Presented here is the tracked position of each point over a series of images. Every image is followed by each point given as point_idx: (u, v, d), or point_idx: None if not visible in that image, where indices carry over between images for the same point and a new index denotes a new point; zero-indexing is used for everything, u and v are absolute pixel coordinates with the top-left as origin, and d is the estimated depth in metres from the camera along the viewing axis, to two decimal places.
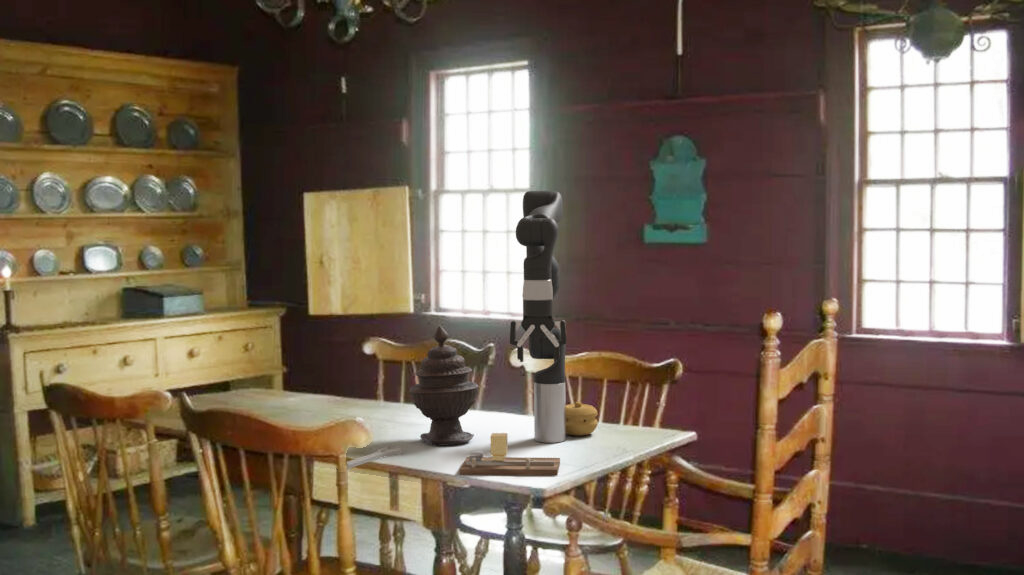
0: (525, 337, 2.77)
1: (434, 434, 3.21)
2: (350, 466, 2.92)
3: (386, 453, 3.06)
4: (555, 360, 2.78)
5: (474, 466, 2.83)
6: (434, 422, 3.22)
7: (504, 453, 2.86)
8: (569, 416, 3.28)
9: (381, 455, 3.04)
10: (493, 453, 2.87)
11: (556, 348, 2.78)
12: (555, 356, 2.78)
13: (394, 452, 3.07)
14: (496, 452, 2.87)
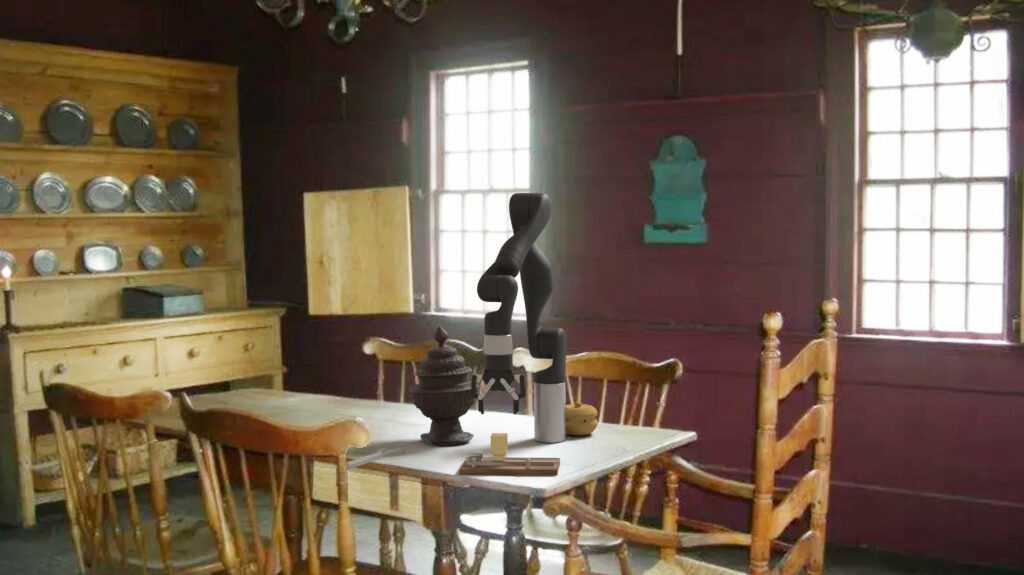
0: (486, 390, 2.86)
1: (434, 434, 3.21)
2: (351, 466, 2.92)
3: (386, 453, 3.05)
4: (515, 413, 2.86)
5: (474, 466, 2.83)
6: (434, 422, 3.22)
7: (504, 453, 2.86)
8: (569, 416, 3.28)
9: (381, 455, 3.04)
10: (493, 453, 2.87)
11: (516, 401, 2.86)
12: (515, 409, 2.86)
13: (394, 452, 3.07)
14: (496, 452, 2.87)
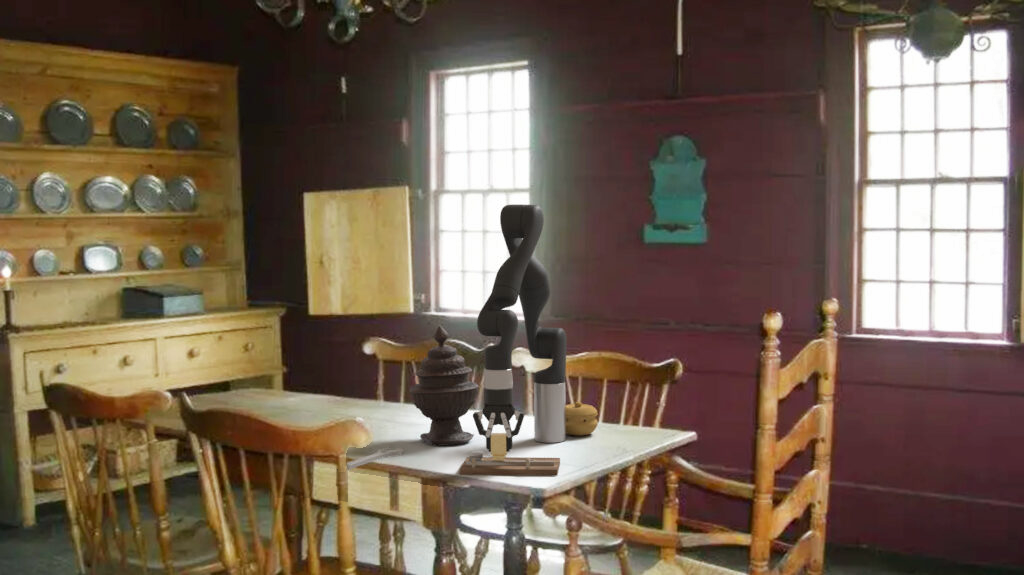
0: (490, 426, 2.87)
1: (434, 434, 3.21)
2: (351, 467, 2.91)
3: (386, 454, 3.05)
4: (508, 450, 2.87)
5: (474, 466, 2.83)
6: (434, 422, 3.22)
7: (504, 453, 2.86)
8: (569, 416, 3.28)
9: (381, 456, 3.04)
10: (493, 453, 2.87)
11: (509, 438, 2.87)
12: (508, 446, 2.87)
13: (394, 453, 3.06)
14: (496, 452, 2.87)
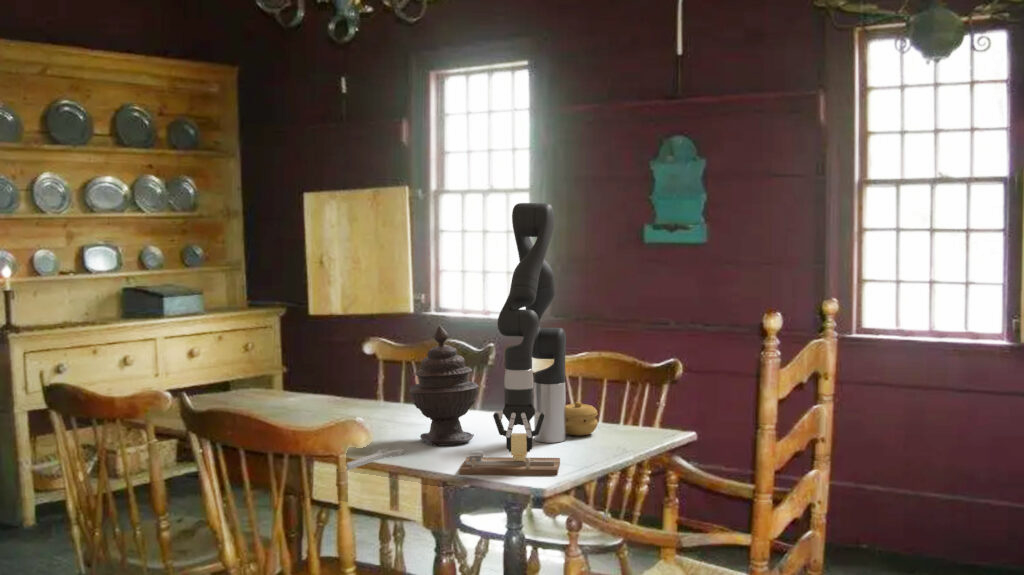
0: (511, 426, 2.86)
1: (434, 434, 3.21)
2: (350, 467, 2.91)
3: (386, 454, 3.05)
4: (528, 450, 2.87)
5: (474, 466, 2.83)
6: (434, 422, 3.22)
7: (525, 453, 2.86)
8: (569, 416, 3.28)
9: (381, 456, 3.03)
10: (513, 453, 2.86)
11: (529, 439, 2.87)
12: (528, 446, 2.87)
13: (394, 453, 3.06)
14: (516, 453, 2.86)
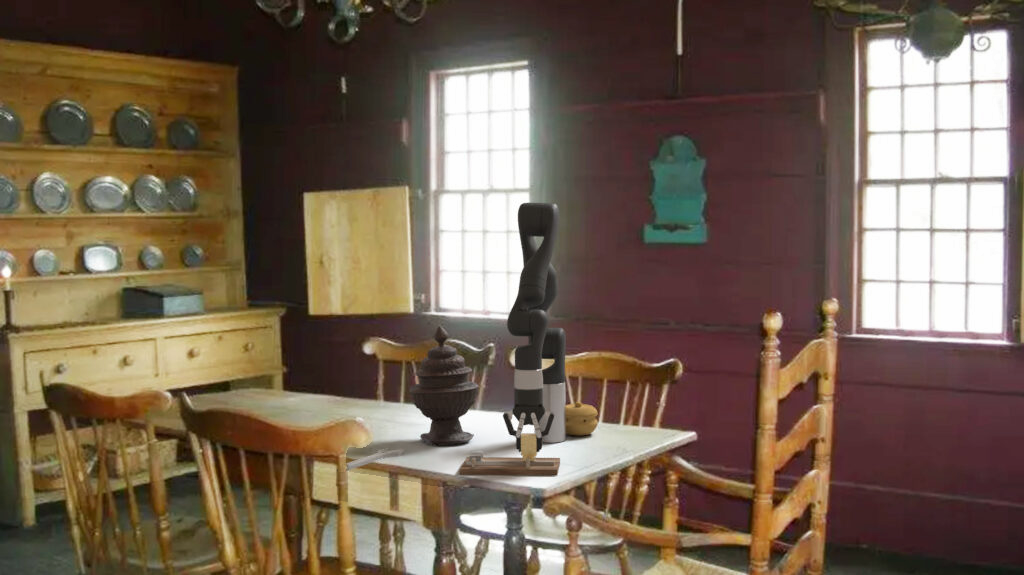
0: (520, 426, 2.86)
1: (434, 434, 3.21)
2: (351, 467, 2.91)
3: (386, 454, 3.04)
4: (538, 450, 2.87)
5: (474, 466, 2.83)
6: (434, 422, 3.22)
7: (534, 453, 2.86)
8: (569, 416, 3.28)
9: (381, 456, 3.03)
10: (523, 453, 2.86)
11: (539, 439, 2.87)
12: (538, 446, 2.86)
13: (394, 453, 3.06)
14: (526, 453, 2.86)
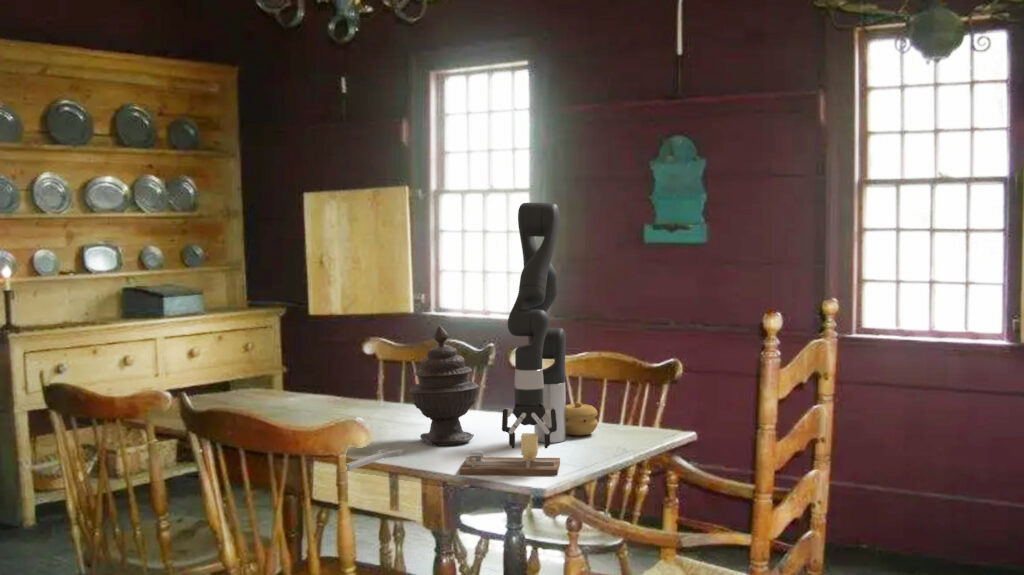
0: (517, 424, 2.86)
1: (434, 434, 3.21)
2: (351, 467, 2.90)
3: (386, 454, 3.04)
4: (546, 447, 2.86)
5: (474, 466, 2.83)
6: (434, 422, 3.22)
7: (535, 453, 2.86)
8: (569, 416, 3.28)
9: (381, 456, 3.03)
10: (524, 453, 2.86)
11: (547, 435, 2.86)
12: (546, 443, 2.86)
13: (394, 453, 3.06)
14: (527, 453, 2.86)
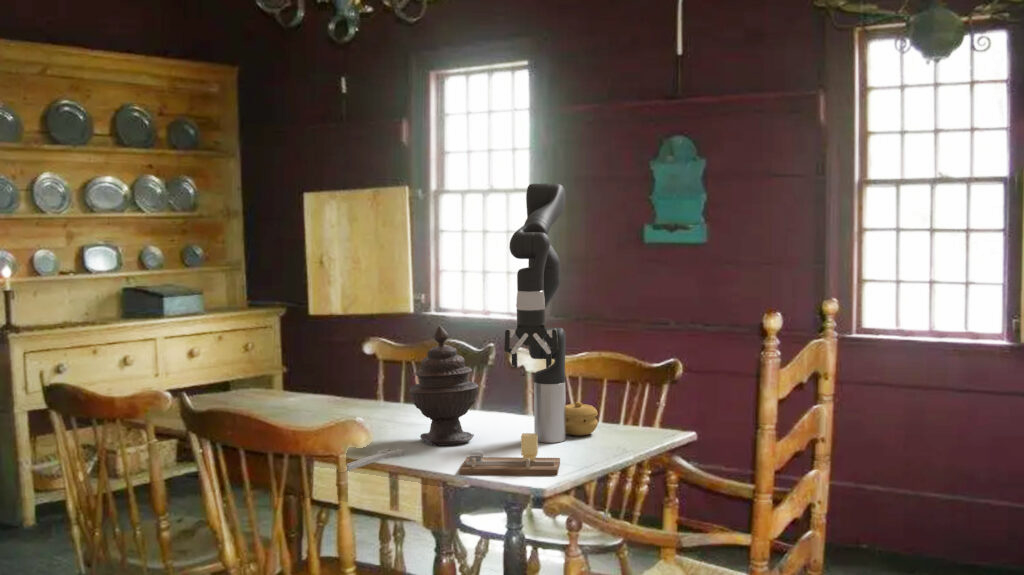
0: (519, 345, 2.93)
1: (434, 434, 3.21)
2: (351, 468, 2.90)
3: (386, 454, 3.04)
4: (547, 366, 2.94)
5: (474, 466, 2.83)
6: (434, 422, 3.22)
7: (535, 453, 2.86)
8: (569, 416, 3.28)
9: (381, 457, 3.02)
10: (524, 453, 2.86)
11: (548, 355, 2.94)
12: (547, 362, 2.94)
13: (394, 453, 3.05)
14: (527, 453, 2.86)
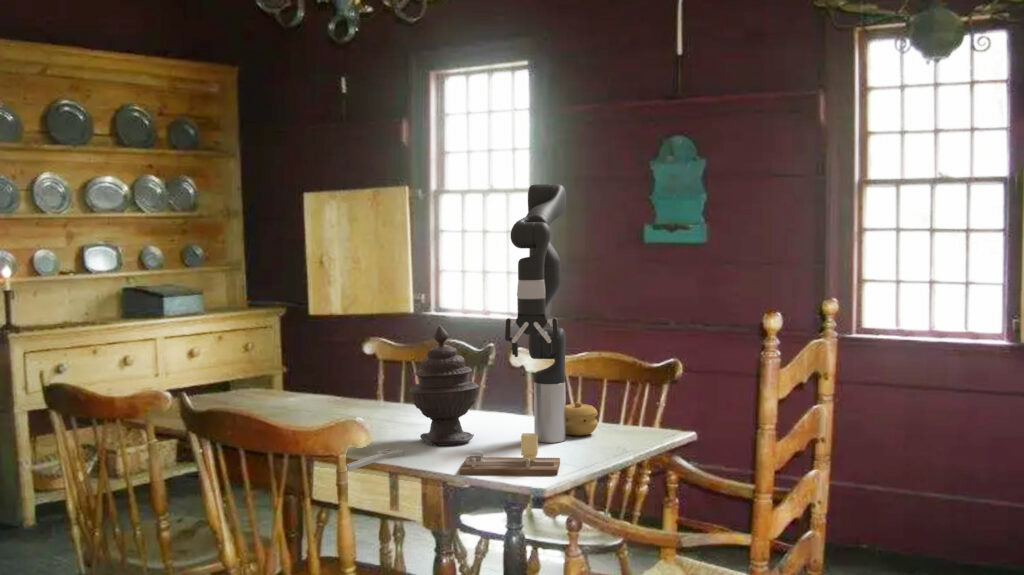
0: (519, 334, 2.96)
1: (434, 434, 3.21)
2: (351, 468, 2.90)
3: (386, 455, 3.03)
4: (547, 355, 2.96)
5: (474, 466, 2.83)
6: (434, 422, 3.22)
7: (535, 453, 2.86)
8: (569, 416, 3.28)
9: (381, 457, 3.02)
10: (524, 453, 2.86)
11: (548, 344, 2.96)
12: (547, 351, 2.96)
13: (394, 454, 3.05)
14: (527, 453, 2.86)
